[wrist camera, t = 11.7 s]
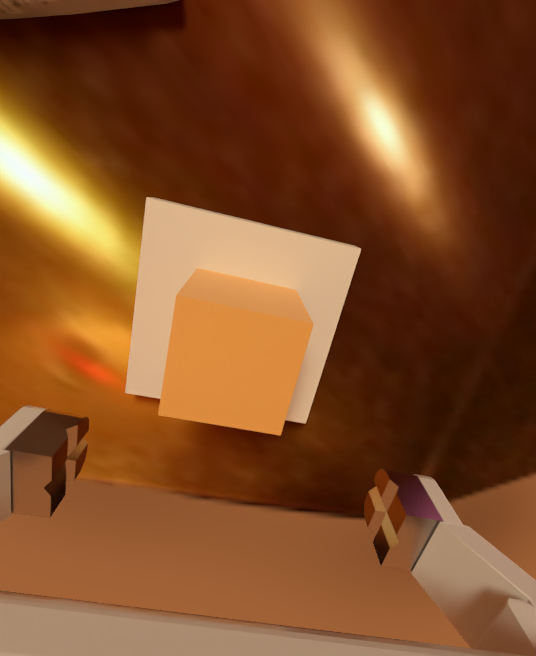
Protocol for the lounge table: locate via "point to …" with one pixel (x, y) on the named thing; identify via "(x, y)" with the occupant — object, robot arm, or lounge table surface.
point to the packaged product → (66, 7)
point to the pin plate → (241, 261)
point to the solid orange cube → (234, 352)
